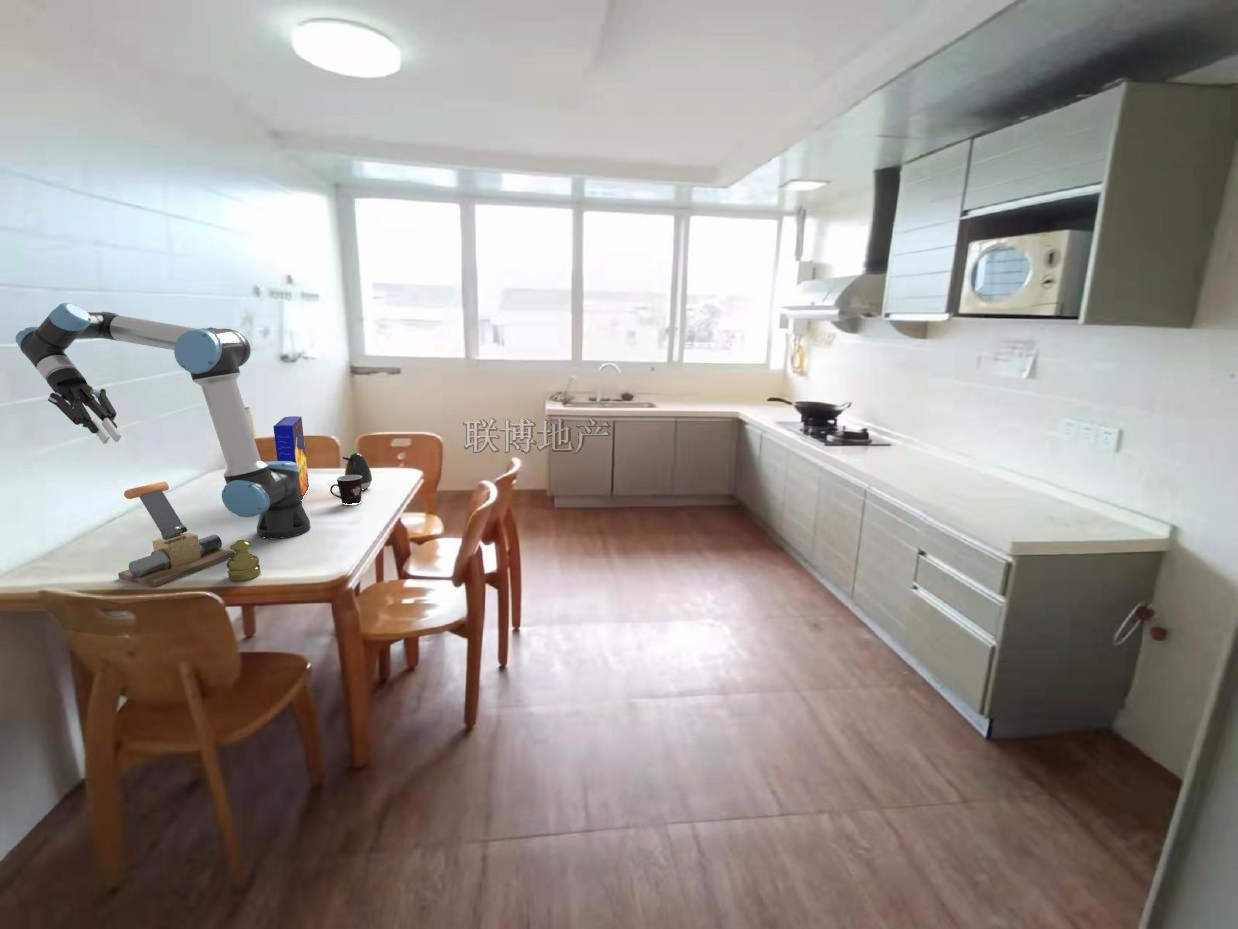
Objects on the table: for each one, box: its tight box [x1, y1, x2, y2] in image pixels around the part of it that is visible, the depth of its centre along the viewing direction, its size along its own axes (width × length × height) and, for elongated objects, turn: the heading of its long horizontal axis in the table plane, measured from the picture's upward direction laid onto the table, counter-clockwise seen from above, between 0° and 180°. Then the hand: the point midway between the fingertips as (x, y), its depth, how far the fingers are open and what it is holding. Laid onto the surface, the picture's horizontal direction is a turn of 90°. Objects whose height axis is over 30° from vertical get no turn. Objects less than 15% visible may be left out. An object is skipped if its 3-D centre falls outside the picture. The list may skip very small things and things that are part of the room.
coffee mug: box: [329, 474, 362, 504], centre depth 223 cm, size 12×9×10 cm
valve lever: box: [123, 481, 188, 540], centre depth 162 cm, size 3×10×16 cm
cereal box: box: [273, 415, 310, 500], centre depth 228 cm, size 22×6×30 cm, turn 19°
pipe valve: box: [117, 532, 236, 588], centre depth 164 cm, size 14×22×8 cm, turn 160°
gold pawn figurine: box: [226, 539, 261, 582], centre depth 159 cm, size 7×7×10 cm
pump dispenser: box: [342, 452, 373, 490], centre depth 242 cm, size 10×10×15 cm
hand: (112, 439), depth 165 cm, fingers open, 2 cm apart
